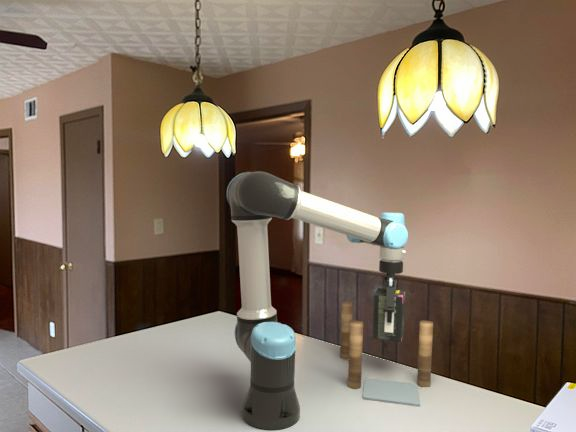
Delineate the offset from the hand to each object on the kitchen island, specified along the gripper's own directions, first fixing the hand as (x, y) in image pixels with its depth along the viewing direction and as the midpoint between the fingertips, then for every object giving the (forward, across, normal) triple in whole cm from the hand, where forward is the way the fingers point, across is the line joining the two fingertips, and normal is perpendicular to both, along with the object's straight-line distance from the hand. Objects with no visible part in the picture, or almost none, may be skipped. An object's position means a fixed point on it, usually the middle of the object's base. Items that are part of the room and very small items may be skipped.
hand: (388, 326), depth 145 cm
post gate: (+16, +12, +15) cm, 25 cm away
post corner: (+16, -12, +10) cm, 22 cm away
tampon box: (+3, 0, 0) cm, 3 cm away
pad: (+16, -13, -1) cm, 21 cm away
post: (+16, -5, -11) cm, 20 cm away
